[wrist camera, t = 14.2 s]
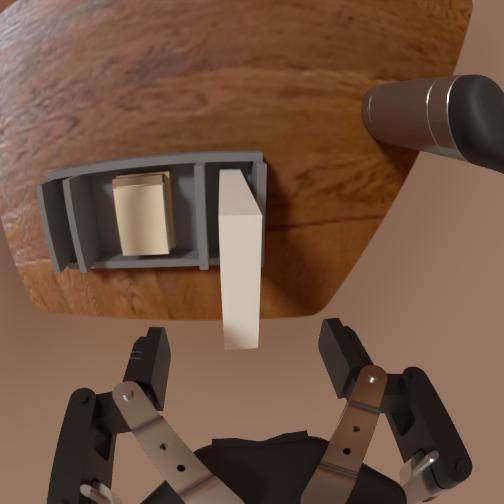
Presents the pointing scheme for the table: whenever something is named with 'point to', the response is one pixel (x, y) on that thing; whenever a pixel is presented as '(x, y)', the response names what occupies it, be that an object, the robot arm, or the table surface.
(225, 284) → the white rectangular board
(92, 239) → the rack
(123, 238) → the offcuts
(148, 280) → the table surface
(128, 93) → the table surface
